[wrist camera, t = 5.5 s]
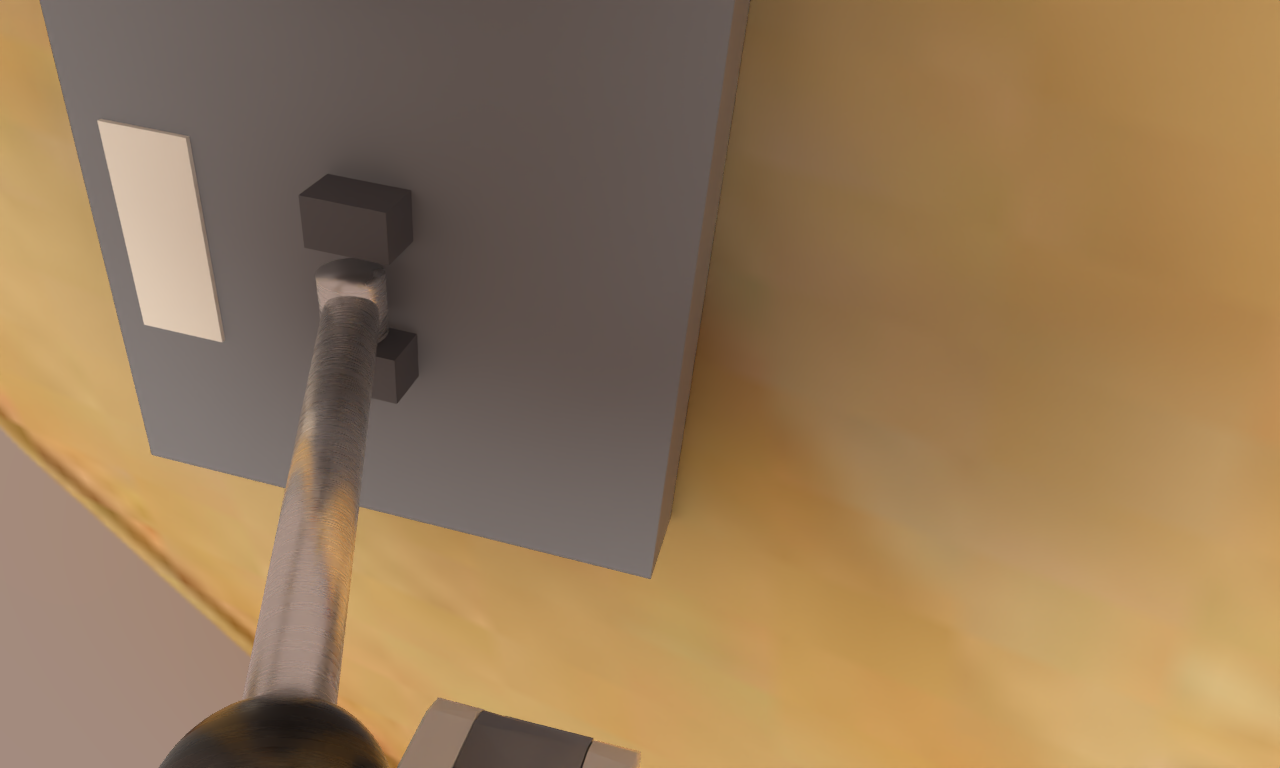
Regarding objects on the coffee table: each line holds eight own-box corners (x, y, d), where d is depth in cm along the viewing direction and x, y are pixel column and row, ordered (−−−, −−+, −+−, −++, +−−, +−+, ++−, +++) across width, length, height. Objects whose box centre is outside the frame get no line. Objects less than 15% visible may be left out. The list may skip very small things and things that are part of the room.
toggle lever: (280, 227, 17) (74, 889, 8) (419, 229, 18) (382, 859, 8) (295, 340, 19) (135, 1020, 9) (423, 340, 19) (394, 988, 10)
